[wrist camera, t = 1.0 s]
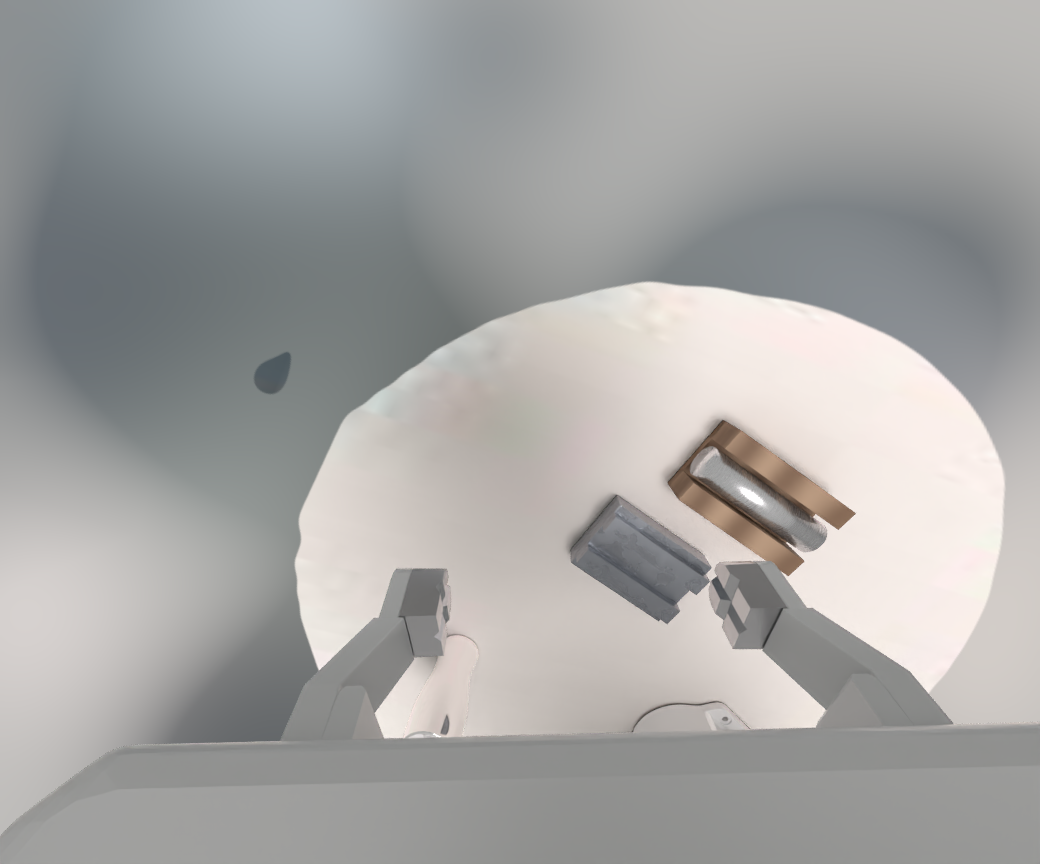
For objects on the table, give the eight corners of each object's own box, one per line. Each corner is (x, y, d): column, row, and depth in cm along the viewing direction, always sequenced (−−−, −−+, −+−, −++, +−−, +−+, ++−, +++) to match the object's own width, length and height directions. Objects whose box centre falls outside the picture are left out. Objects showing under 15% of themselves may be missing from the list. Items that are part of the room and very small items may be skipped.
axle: (813, 516, 48) (834, 533, 45) (788, 539, 50) (806, 558, 46) (708, 441, 47) (721, 452, 43) (685, 467, 48) (696, 480, 45)
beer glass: (429, 638, 60) (387, 737, 46) (470, 626, 59) (441, 724, 44) (448, 674, 61) (413, 781, 47) (489, 664, 60) (466, 770, 46)
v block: (703, 554, 52) (716, 575, 48) (653, 605, 55) (661, 629, 50) (616, 494, 51) (622, 510, 47) (570, 549, 54) (571, 569, 50)
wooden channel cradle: (826, 494, 49) (856, 513, 44) (767, 552, 51) (788, 576, 46) (723, 419, 47) (741, 430, 43) (667, 483, 50) (678, 499, 45)
